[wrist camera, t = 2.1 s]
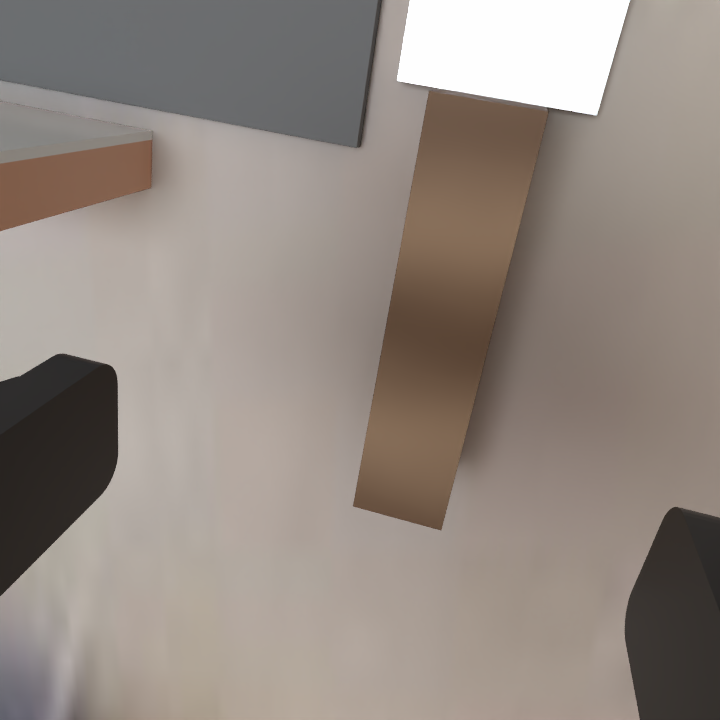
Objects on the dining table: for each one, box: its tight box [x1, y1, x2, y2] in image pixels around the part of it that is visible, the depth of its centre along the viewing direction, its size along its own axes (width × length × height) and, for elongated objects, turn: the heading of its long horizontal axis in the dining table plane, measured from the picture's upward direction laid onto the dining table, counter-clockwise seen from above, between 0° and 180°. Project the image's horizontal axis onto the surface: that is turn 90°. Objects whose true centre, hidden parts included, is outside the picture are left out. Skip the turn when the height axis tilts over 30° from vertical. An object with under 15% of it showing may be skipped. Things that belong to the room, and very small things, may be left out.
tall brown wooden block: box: [353, 0, 630, 530], centre depth 20 cm, size 19×6×4 cm, turn 171°
